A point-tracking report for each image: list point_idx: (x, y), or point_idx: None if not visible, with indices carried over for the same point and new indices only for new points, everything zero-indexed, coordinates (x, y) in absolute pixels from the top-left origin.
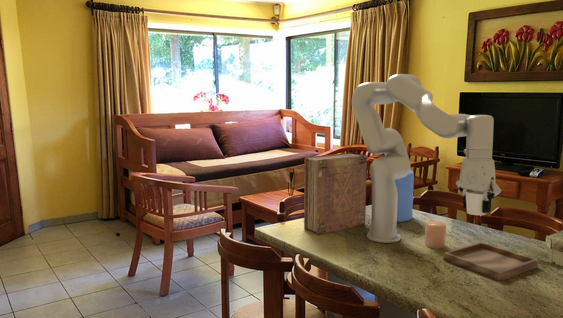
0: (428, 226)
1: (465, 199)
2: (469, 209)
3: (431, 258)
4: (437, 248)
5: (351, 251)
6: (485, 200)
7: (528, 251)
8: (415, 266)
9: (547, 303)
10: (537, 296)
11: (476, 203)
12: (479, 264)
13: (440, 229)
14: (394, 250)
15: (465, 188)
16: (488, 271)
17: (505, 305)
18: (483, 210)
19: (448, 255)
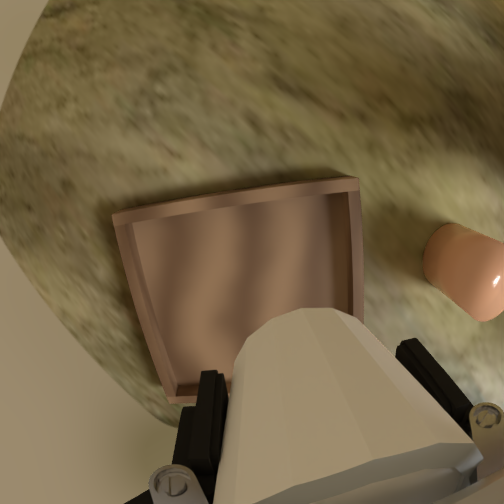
0: (500, 243)
1: (437, 393)
2: (328, 325)
3: (377, 147)
4: (428, 241)
5: (485, 3)
6: (180, 467)
7: None
8: (340, 43)
9: (6, 218)
10: (32, 228)
11: (260, 395)
12: (200, 210)
13: (465, 272)
14: (470, 99)
15: (499, 474)
16: (155, 205)
17: (25, 110)
18: (204, 382)
19: (334, 179)
